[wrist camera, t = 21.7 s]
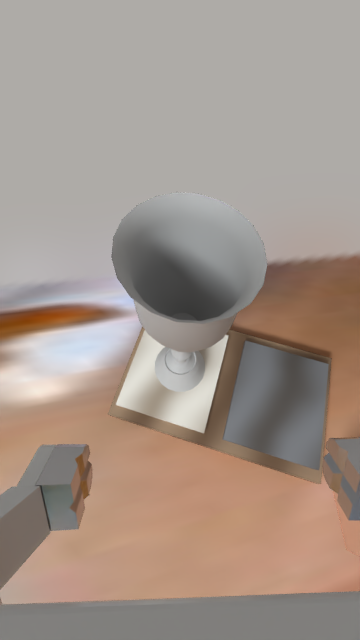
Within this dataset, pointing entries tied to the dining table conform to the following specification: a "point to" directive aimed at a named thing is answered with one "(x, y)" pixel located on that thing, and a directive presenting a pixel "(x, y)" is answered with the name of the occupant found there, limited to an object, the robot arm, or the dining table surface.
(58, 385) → the dining table surface
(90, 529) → the dining table surface
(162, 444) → the dining table surface
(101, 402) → the dining table surface
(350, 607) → the robot arm
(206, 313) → the chalice
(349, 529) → the terracotta cube
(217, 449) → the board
